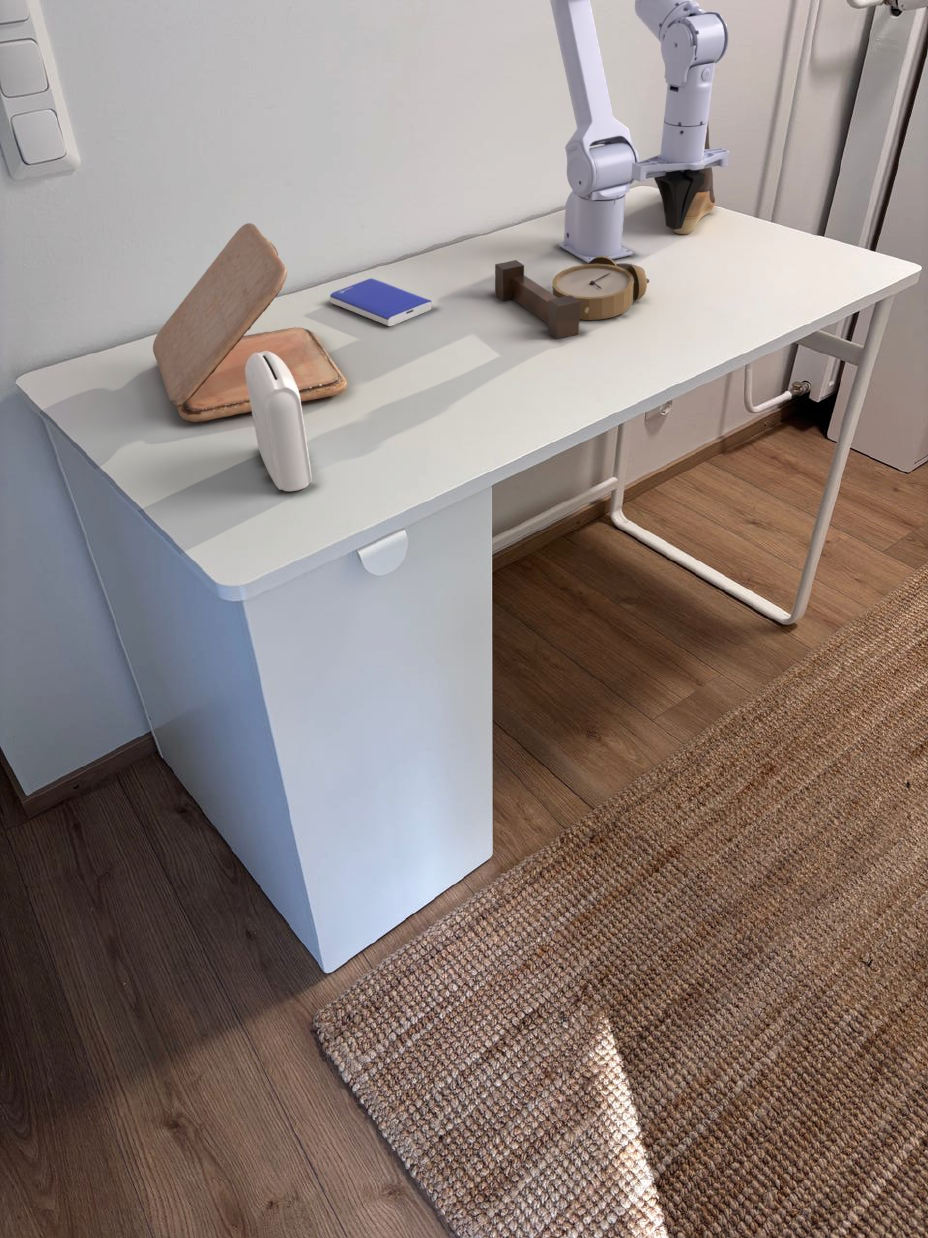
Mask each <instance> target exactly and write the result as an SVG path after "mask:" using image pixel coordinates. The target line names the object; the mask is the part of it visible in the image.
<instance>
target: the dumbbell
mask: <svg viewBox="0 0 928 1238" xmlns="http://www.w3.org/2000/svg"><path fill="white" fill-rule="evenodd" d="M494 281H495V282H494V292H495V293H494V295H495V296H496V297H497V298H498V299H499V300H501V301H502V302H503V301H508V300H513V301H514V302H515V303H518V304H519V305H520V306H522V307H523V308H524V309H526V310H528V311H529V312H530V313H532V314H533V315H534V316H536V317H538V318H539V319H540V320H542V321H543V322H544V323H546V324H547V334H548V335H550V336H552V338H554V339H556V340H559V339H563V338H567V337H572V336H576V335H579V333H580V332H579V331H580V319H579V315H580V301H579V300H578V299H576V298H574V297H573V296H571V295H569V296H565V297H560V298H558V297H556V296H555V295H553V292H550V291H549V290H547V289H545V288H544V287H543V286H541V285H539V284H538V283H537V282H535V281H533V279H530V278H529V277H527V276H526V275H525V265H524V264H523V263H521V262H519V260H517V259H515V260H510V261H505V262H500V263H494Z"/></svg>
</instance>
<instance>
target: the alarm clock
mask: <svg viewBox="0 0 928 1238" xmlns="http://www.w3.org/2000/svg"><path fill="white" fill-rule="evenodd" d="M551 283H552V294H553V295H555V296H556V297H558V298H560V297H565V296H569V295H571V296H573V297H574V298H576V299H578V300H579V301H580V315H579V320H582V321H583V320H584V321H595V320H596V321H597V320H605V319H610V318H614V317H616V316H619V315H621V314H624V313H625V312H627V311H628V310H629V309H631V308H632V305H633V304H634V302H635V301H638V300H640V299H642V298H643V297H644V295H645V294H646V292H647V288H648V284H649V283H650V279H649V278H647V275H646V272H645V270H644V268H643V267H641V266H639V265H637V264H632V263H626V262H625V263H622V262H620V263H619V262H618V263H616V262H615V260H614V259H610V258H609V257H605V256H598V257H596V258H594V259H592V260H591V261H590V262H589V263H585V264H580V265H574V266H571V267H569V268H566V269H563V270H562V271H560V272H558V273H557V274H556V275H555V276H554V277H553V278H552V281H551Z"/></svg>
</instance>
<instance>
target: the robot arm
mask: <svg viewBox="0 0 928 1238" xmlns="http://www.w3.org/2000/svg"><path fill="white" fill-rule="evenodd" d="M549 2H550V6H551V11H552V16H553V20H554V25H555V30H556V34H557V39H558V44H559V48H560V53H561V58H562V63H563V68H564V72H565V78H566V82H567V87H568V90H569V96H570V102H571V105H572V110H573V116H574V120H575V124H576V130H575V131H574V132H573V134H572V136H571V137H570V138H569V140H568V142H567V143H566V144H565V146H564V149H565V153H566V178H567V182H568V184H569V187H570V189H571V190H572V191H571V192H570V193H569V195H568V197H567V199H566V202H565V207H564V208H565V209H564V211H565V212H564V231H563V232H564V233H563V241H561V242H559V243H558V247H559V248H561V249H563V250H564V251H566V252H568V253H569V254H572V255H573V256H575V257H577V258H579V259H580V260H582V261H584V262H585V263H586V264H588V263H589V262H590V261H591V260H592V259H594V258H596V257H598V256H605V257H609V258H610V259H612V260H615V259H620V258H625V257H630V256H633V252H634V251H632V250H630V249H628V248H627V247H625V246H623V235H624V234H623V232H624V221H625V220H624V219H625V207H626V196H627V195H626V194H627V193H630V191H631V185H632V184H634V183H635V181H637V182H639V183H642V182H645V181H646V180H649V179H654V181H655V184H656V186H657V188H658V192H659V194H660V198H661V201H662V206H663V212H664V220H665V227H667V228H669V229H671V230H672V231H673V230H675V229H680V228H682V226H683V223H684V220H685V217H686V215H687V212H688V210H689V207H690V205H691V203H692V201H693V199H694V197H695V195H696V194H697V192H698V191H699V189H700V188H701V186H702V185H703V184H704V182H705V174H703V173H700V169H704V168H709V167H712V168H714V167H720V168H723V167H728V166H729V161H730V160H729V158H730V150H728V149H725V148H723V147H718V148H710V149H705V150H704V148H705V140H706V132H707V125H708V126H709V117H710V116H709V115H710V110H711V109H710V108H711V100H712V92H713V87H714V86H713V85H714V77H715V69H716V64H717V63H719V62H720V61H721V60H722V59H723V58H724V56H725V54H726V52H727V49H728V45H729V29H728V26H727V23H726V21H725V19H724V18H723V17H722V14H721V13H720V12H719V11H715V10H712V11H711V10H710V11H706V10H705V9H701V8H700V4H699V3H698V2H697V0H634V11H635V14H636V16H637V17H638V18H639V20H640V21H641V22H642V23H643V24H644V25H645V27H647V29H648V30H649V31H650V32H651V34H653V35H654V37H655V38H656V39H657V40H658V41H659V42H660V53H661V57H662V60H663V63H664V79H665V83H666V85H667V87H666V95H665V96H666V97H665V108H664V115H663V125H662V135H661V144H660V153H659V154H657V155H655V156H652V157H649V158H646V159H644V160H640V155H639V152H638V150H637V147H636V146H635V144H634V143H633V140H632V137H631V131H630V129H629V128H628V127H627V126H626V125H625V124H623V123H622V122H621V121H619V120H617V118H615V117H614V113H613V108H612V103H611V98H610V94H609V89H608V83H607V78H606V73H605V68H604V63H603V59H602V53H601V48H600V44H599V38H598V33H597V29H596V24H595V19H594V14H593V9H592V4H591V0H549Z"/></svg>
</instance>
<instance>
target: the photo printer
mask: <svg viewBox="0 0 928 1238" xmlns="http://www.w3.org/2000/svg"><path fill="white" fill-rule="evenodd" d="M245 376H246V382H247V387H248V393H249V398H250V404H251V409H252V411H251V415H252V419H253V425H254V426H253V427H254V431H255V436H256V442H257V446H258V450H259V453H260V456H261V459H262V461H263V464H264V466H265V468H266V471H267V472H268V474H269V476H270V478H271V480H272V482H273V483H274V485H275V487H277V489H278V490H282V491H283V492H295V491H300V490H302V489H305V488H307V487H308V486H309V484H311V483H312V479H313V478H312V477H313V476H312V469H311V467H312V466H311V461H310V455H309V449H308V441H307V435H306V429H305V422H304V421H305V420H304V415H303V408H302V402H301V400H300V394H299V390H298V388H297V385H296V383H295V380H294V378H293V376H292V374H291V372H290V371H289V369H288V367H287V366H286V365H285V363H284V362H283V361H282V360H281V359H280V358H279V357H278V356H277V355H275V354H273V353H271V352H268V351H263V352H261V353H253V354H252V355H251V356H250V357H249V359H248V361H247V363H246V366H245Z"/></svg>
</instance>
